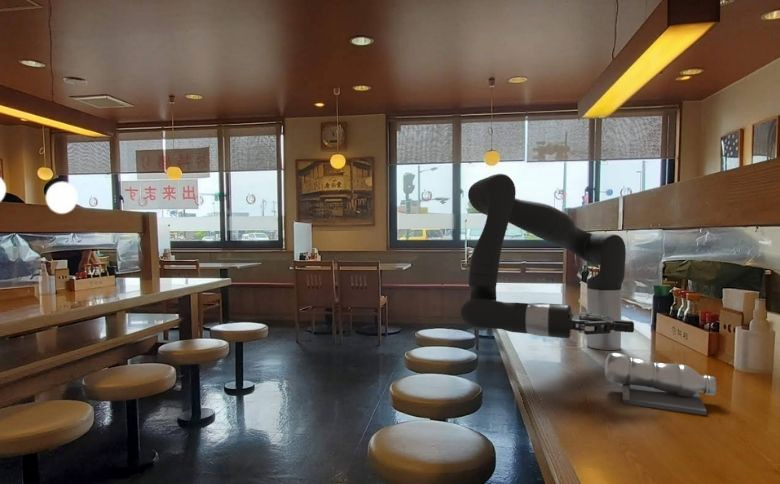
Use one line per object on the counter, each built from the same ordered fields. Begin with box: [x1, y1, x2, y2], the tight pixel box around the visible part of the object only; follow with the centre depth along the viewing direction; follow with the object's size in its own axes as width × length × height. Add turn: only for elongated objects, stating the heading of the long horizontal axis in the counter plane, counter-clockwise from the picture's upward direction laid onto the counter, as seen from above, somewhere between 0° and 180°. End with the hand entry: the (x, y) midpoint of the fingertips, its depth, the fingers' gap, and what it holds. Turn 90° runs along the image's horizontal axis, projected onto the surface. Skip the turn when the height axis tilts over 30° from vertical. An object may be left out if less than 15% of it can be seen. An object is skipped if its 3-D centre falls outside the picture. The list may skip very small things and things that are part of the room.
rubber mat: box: [622, 384, 708, 416], centre depth 96 cm, size 15×14×2 cm
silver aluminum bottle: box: [603, 352, 718, 397], centre depth 97 cm, size 6×7×20 cm
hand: (633, 326), depth 99 cm, fingers closed
